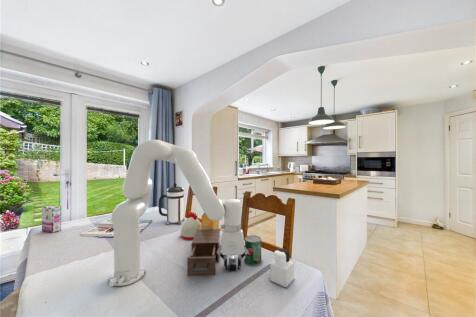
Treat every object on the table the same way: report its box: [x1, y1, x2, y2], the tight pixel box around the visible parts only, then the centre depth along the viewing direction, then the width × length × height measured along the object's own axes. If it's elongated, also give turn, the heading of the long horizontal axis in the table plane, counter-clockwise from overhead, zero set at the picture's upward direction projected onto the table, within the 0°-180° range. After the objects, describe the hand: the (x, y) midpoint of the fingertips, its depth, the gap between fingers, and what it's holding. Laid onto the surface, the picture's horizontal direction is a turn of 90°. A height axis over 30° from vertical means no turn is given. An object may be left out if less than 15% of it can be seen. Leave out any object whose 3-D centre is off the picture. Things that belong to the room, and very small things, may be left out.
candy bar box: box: [41, 205, 62, 234], centre depth 134 cm, size 11×5×16 cm, turn 73°
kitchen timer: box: [180, 211, 202, 241], centre depth 127 cm, size 14×14×15 cm
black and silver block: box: [228, 255, 237, 272], centre depth 91 cm, size 7×4×4 cm, turn 3°
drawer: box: [186, 245, 217, 277], centre depth 88 cm, size 21×12×7 cm, turn 3°
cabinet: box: [190, 228, 221, 263], centre depth 103 cm, size 18×13×9 cm
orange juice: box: [201, 211, 220, 229], centre depth 122 cm, size 8×9×20 cm
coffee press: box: [158, 182, 186, 225], centre depth 152 cm, size 17×16×30 cm
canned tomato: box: [244, 234, 262, 267], centre depth 95 cm, size 8×8×11 cm
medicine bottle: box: [269, 248, 295, 288], centre depth 81 cm, size 7×7×12 cm
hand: (232, 267), depth 89 cm, fingers open, 4 cm apart
